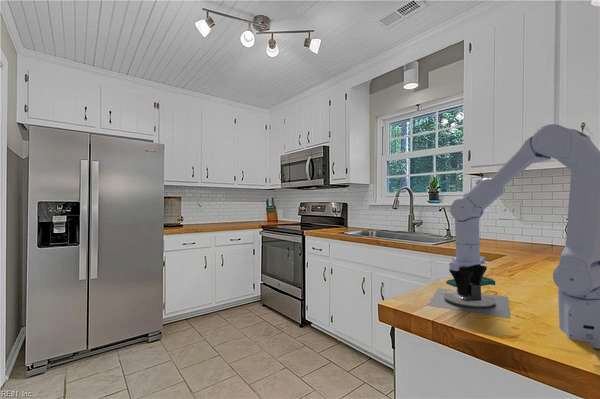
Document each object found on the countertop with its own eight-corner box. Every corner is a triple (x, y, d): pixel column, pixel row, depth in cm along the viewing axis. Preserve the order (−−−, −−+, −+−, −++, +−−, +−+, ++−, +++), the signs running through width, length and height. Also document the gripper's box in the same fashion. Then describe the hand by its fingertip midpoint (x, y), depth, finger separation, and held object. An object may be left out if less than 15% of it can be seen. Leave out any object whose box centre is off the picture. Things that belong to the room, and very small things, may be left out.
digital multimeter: (444, 288, 99) (444, 279, 99) (476, 282, 105) (475, 274, 105) (464, 294, 93) (463, 284, 93) (496, 288, 98) (496, 279, 98)
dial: (506, 307, 76) (505, 287, 76) (458, 308, 75) (458, 288, 76) (477, 292, 88) (477, 275, 88) (436, 294, 87) (436, 276, 88)
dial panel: (510, 323, 69) (510, 317, 69) (427, 309, 79) (427, 304, 79) (508, 301, 84) (508, 296, 84) (438, 291, 94) (438, 287, 94)
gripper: (466, 239, 89) (468, 285, 89) (438, 244, 81) (439, 294, 81) (492, 242, 83) (493, 291, 83) (464, 247, 75) (465, 301, 75)
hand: (468, 293), depth 82 cm, fingers closed on dial, 5 cm apart
